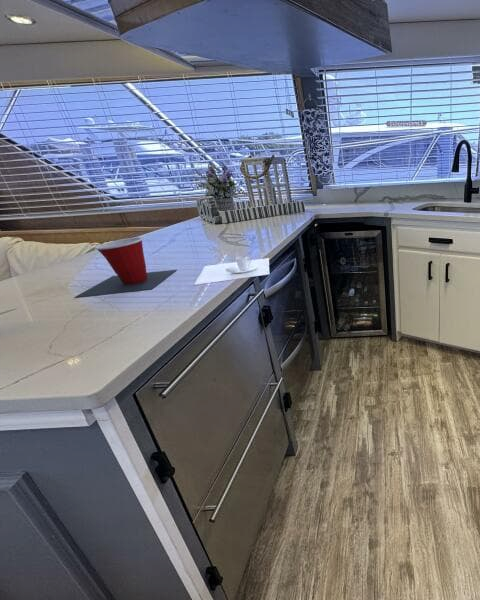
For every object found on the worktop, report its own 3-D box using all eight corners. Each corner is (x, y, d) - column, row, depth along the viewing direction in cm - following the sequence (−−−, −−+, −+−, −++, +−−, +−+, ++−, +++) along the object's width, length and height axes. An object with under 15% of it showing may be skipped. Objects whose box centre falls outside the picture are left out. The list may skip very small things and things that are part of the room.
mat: (74, 297, 84) (73, 297, 84) (113, 276, 100) (112, 275, 100) (151, 289, 87) (151, 288, 87) (177, 270, 103) (177, 269, 103)
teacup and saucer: (225, 276, 95) (222, 263, 94) (228, 268, 102) (225, 256, 101) (257, 271, 98) (254, 258, 97) (257, 265, 105) (255, 252, 103)
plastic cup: (114, 280, 95) (97, 240, 91) (158, 273, 101) (144, 235, 96) (107, 291, 87) (88, 247, 82) (155, 282, 92) (140, 241, 87)
